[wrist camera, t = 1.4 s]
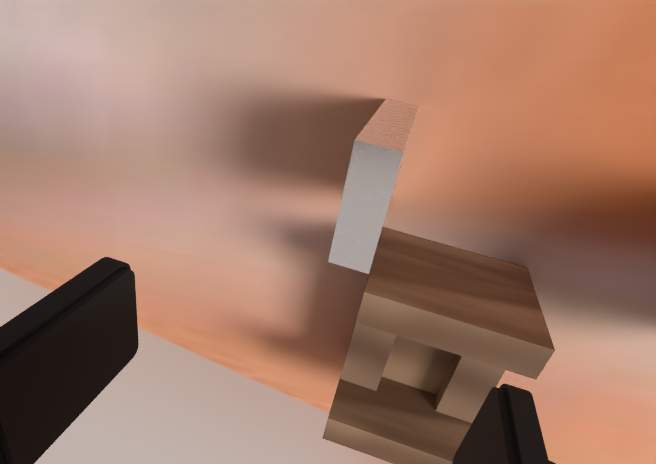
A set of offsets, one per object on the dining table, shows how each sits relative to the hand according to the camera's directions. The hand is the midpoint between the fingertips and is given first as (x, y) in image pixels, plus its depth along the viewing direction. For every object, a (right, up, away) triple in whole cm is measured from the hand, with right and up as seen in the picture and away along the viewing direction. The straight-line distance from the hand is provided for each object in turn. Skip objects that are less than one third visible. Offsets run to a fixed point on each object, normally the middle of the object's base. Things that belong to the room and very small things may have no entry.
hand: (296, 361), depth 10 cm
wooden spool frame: (+8, -3, +21) cm, 23 cm away
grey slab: (+5, +9, +16) cm, 19 cm away
